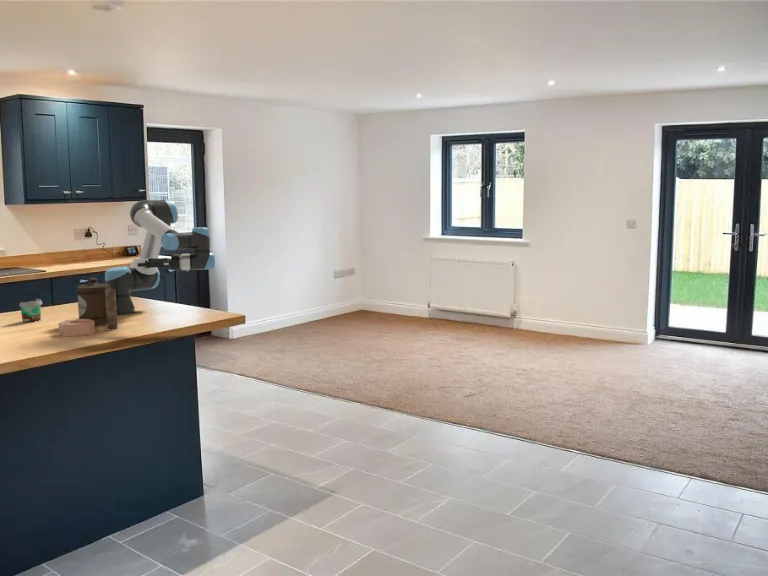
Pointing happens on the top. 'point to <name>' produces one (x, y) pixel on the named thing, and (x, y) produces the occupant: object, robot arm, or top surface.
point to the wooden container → (93, 302)
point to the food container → (31, 310)
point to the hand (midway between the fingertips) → (131, 263)
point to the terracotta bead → (76, 327)
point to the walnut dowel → (111, 309)
